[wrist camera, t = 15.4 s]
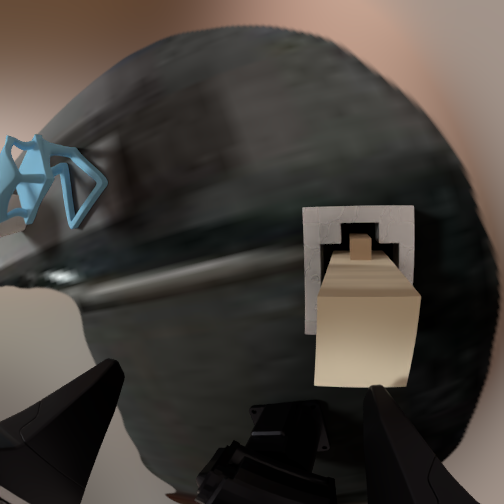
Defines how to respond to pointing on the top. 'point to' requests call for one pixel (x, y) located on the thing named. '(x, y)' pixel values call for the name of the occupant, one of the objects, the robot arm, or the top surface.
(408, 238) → the socket plate
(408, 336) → the keyed post
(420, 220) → the top surface
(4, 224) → the dixie cup
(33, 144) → the chair
